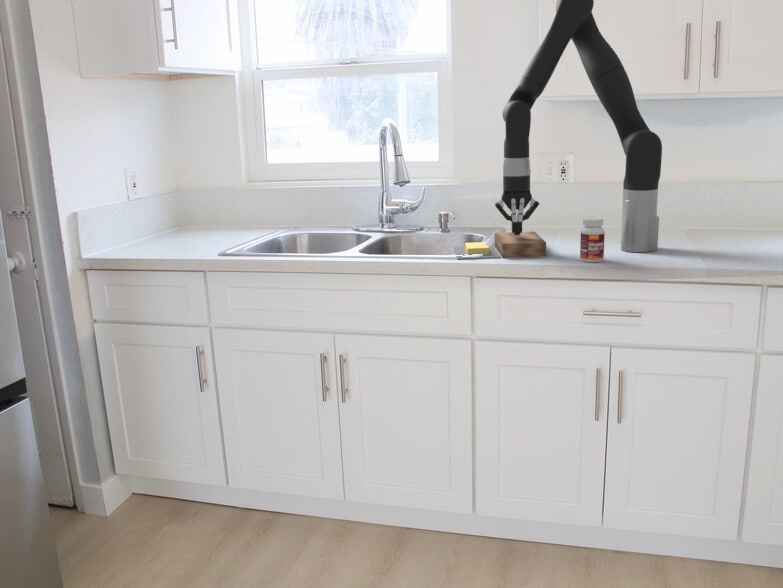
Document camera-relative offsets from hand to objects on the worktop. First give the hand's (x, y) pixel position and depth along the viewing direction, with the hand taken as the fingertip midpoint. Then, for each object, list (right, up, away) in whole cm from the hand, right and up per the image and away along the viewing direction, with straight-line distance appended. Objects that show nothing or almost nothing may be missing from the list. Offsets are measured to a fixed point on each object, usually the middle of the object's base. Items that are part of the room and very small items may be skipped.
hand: (516, 234), depth 214 cm
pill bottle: (+18, -8, -14) cm, 24 cm away
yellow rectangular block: (-11, -3, +1) cm, 12 cm away
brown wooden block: (+1, -5, +2) cm, 5 cm away
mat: (-11, -5, +2) cm, 13 cm away
